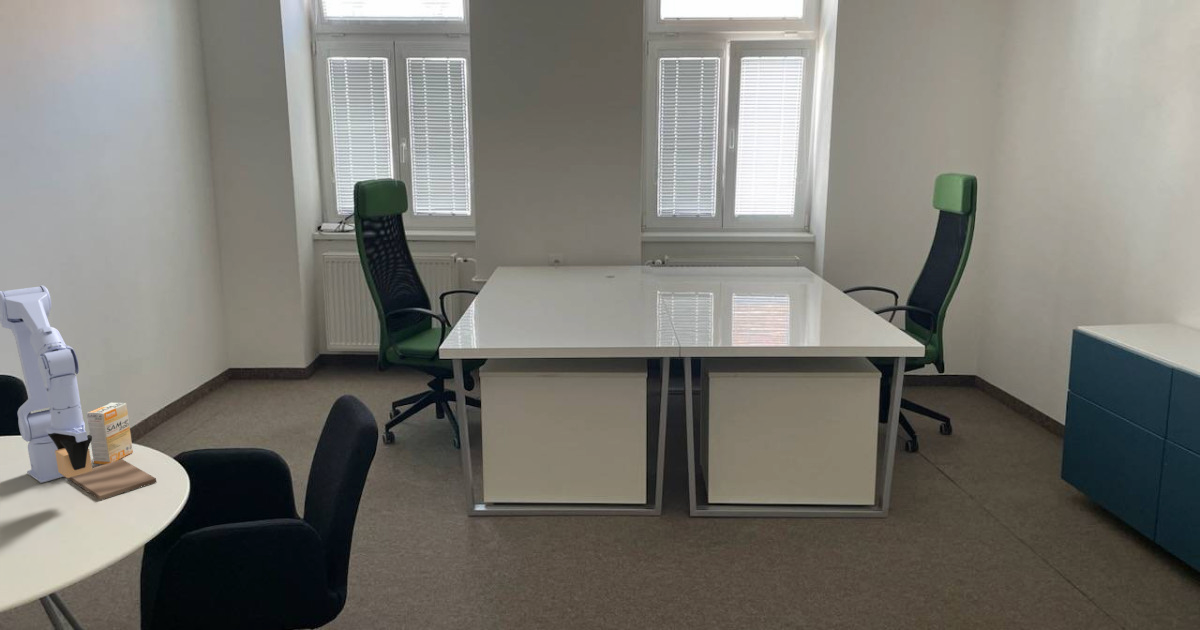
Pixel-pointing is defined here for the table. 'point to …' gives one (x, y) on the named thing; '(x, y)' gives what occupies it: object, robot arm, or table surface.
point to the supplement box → (109, 433)
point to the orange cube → (66, 466)
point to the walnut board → (112, 479)
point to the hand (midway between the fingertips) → (74, 465)
